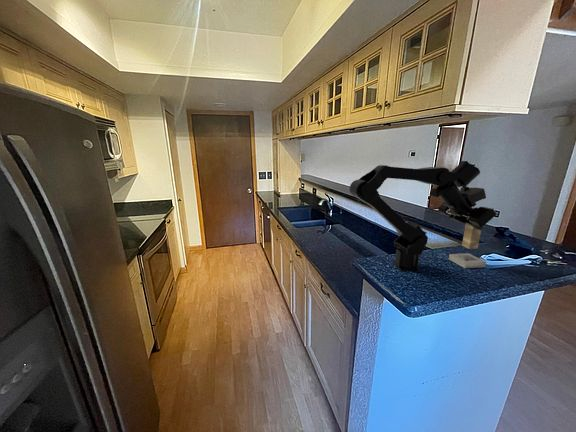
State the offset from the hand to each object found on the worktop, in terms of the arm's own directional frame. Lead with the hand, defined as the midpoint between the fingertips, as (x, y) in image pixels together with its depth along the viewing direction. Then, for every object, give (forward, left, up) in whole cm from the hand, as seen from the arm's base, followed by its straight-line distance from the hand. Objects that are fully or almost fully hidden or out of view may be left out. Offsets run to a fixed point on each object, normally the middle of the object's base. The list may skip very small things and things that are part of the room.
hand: (476, 227), depth 84 cm
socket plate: (-2, 0, -13) cm, 13 cm away
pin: (-1, 0, -7) cm, 7 cm away
